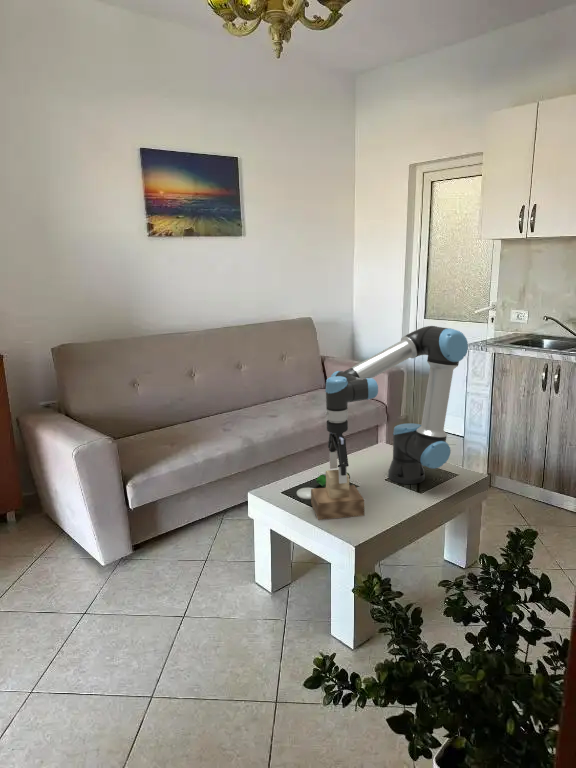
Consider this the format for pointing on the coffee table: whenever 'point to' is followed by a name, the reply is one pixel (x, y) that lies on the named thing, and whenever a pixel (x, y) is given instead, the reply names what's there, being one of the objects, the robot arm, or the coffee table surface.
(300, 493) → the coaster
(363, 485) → the coffee table surface
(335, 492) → the oak block
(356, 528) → the coffee table surface
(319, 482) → the green toy car
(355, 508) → the walnut box
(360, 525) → the coffee table surface
